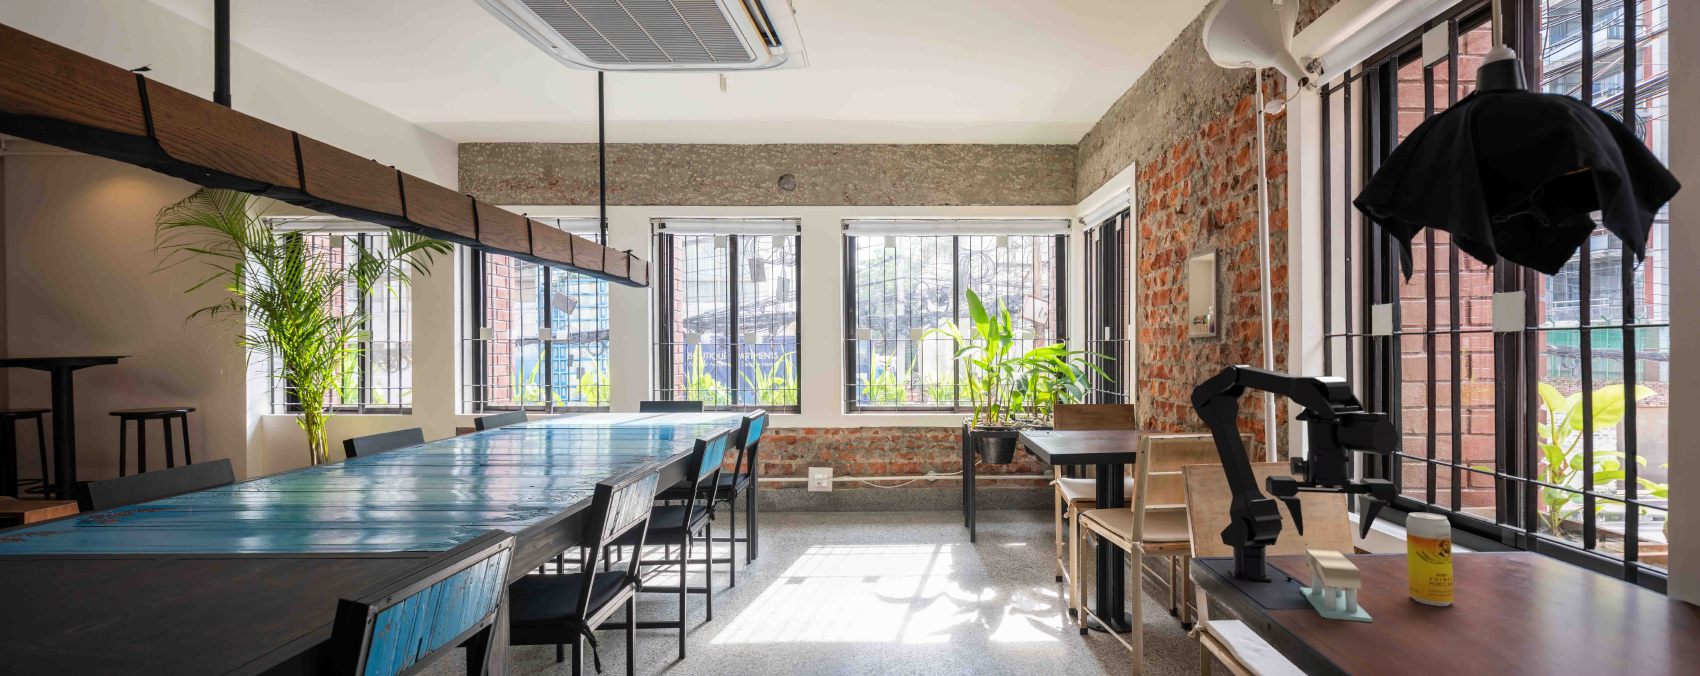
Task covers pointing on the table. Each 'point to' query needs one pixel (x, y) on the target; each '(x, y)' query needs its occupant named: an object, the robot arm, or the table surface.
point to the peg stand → (1334, 601)
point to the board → (1333, 568)
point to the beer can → (1429, 558)
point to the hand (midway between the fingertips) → (1331, 536)
